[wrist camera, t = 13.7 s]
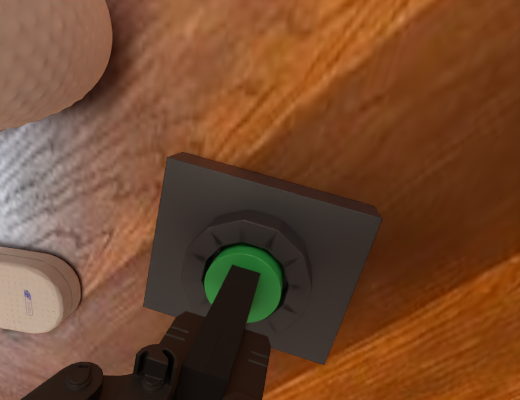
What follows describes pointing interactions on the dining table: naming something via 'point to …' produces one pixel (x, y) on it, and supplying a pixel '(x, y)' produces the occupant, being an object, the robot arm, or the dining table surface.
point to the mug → (50, 55)
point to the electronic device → (35, 290)
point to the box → (265, 236)
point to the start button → (255, 261)
